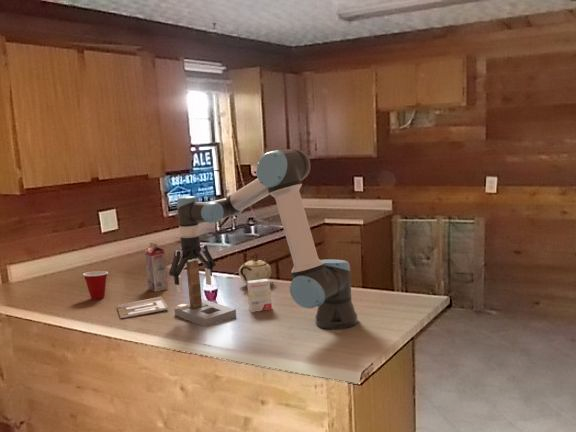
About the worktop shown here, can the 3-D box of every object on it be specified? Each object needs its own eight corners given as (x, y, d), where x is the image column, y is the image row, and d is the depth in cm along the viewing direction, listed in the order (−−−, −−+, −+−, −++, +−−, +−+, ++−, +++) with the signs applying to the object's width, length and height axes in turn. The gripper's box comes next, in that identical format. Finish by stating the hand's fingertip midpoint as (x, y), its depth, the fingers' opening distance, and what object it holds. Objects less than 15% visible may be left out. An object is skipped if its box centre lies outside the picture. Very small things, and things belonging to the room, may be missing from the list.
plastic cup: (115, 296, 261) (112, 270, 259) (96, 302, 252) (92, 276, 250) (100, 293, 267) (97, 268, 265) (80, 299, 258) (77, 274, 256)
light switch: (162, 300, 249) (117, 309, 243) (161, 296, 249) (117, 304, 243) (168, 311, 233) (121, 321, 227) (168, 306, 233) (120, 316, 226)
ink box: (269, 306, 231) (267, 277, 229) (272, 309, 226) (270, 280, 224) (248, 308, 229) (246, 280, 227) (250, 312, 224) (248, 283, 223)
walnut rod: (201, 304, 227) (198, 260, 224) (194, 307, 225) (190, 262, 222) (197, 303, 230) (193, 259, 227) (190, 305, 228) (186, 261, 225)
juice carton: (155, 291, 264) (150, 245, 261) (148, 289, 269) (143, 243, 266) (167, 288, 268) (163, 242, 265) (160, 286, 273) (156, 241, 270)
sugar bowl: (257, 278, 276) (254, 248, 274) (281, 281, 268) (279, 250, 265) (229, 288, 261) (227, 256, 259) (255, 292, 252) (252, 259, 250)
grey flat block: (236, 317, 220) (235, 306, 219) (206, 326, 211) (205, 316, 210) (204, 306, 236) (203, 296, 235) (175, 315, 227) (174, 305, 226)
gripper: (210, 229, 234) (215, 280, 237) (156, 240, 218) (162, 294, 221) (221, 231, 229) (225, 282, 232) (166, 242, 212) (172, 297, 215)
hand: (194, 288), depth 226 cm, fingers open, 13 cm apart
